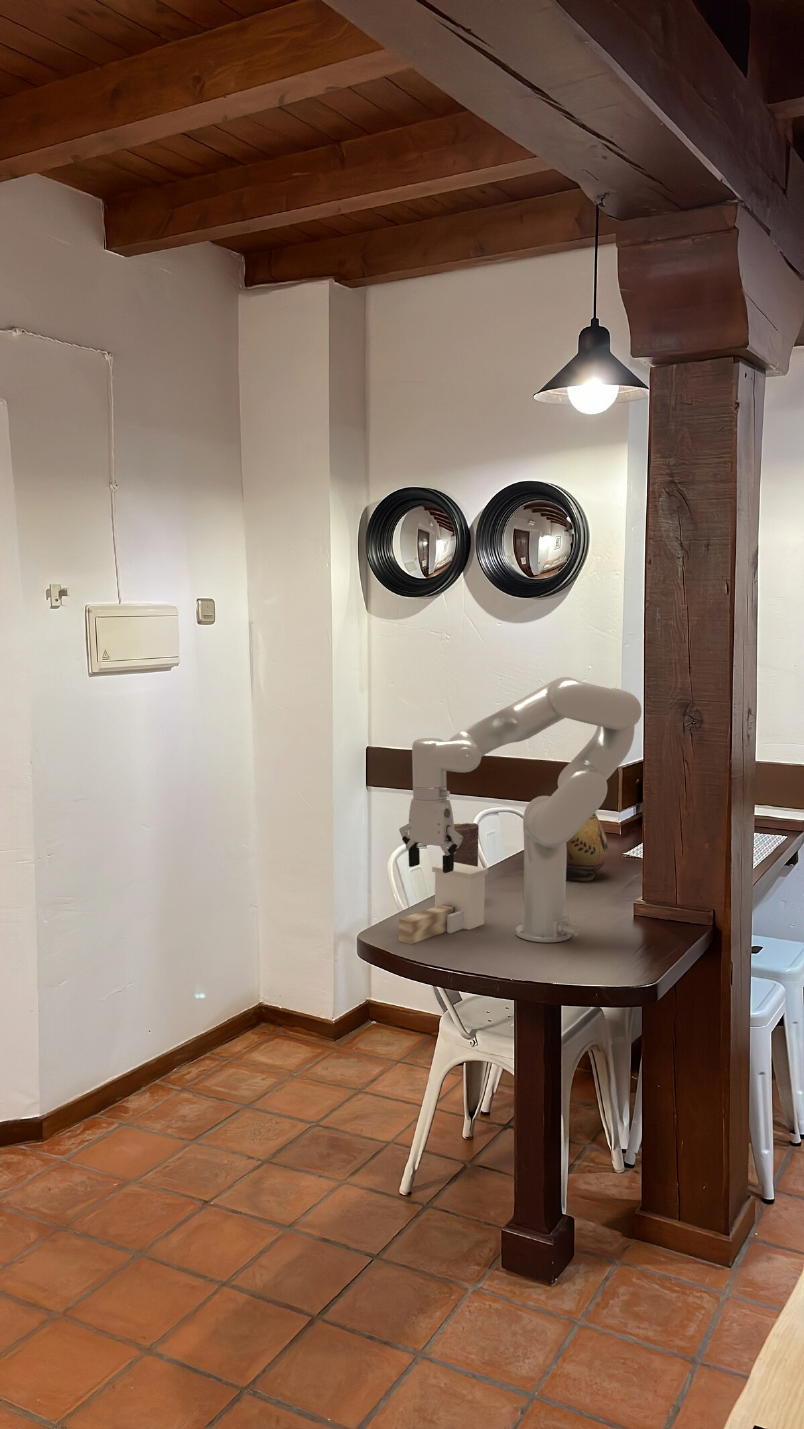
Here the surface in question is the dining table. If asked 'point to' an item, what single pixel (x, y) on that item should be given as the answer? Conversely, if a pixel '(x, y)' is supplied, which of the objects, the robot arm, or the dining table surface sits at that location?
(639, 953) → the dining table surface
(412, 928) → the wooden block
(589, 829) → the ceramic jug
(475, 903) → the white upright pillar
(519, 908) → the dining table surface
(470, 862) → the candle
